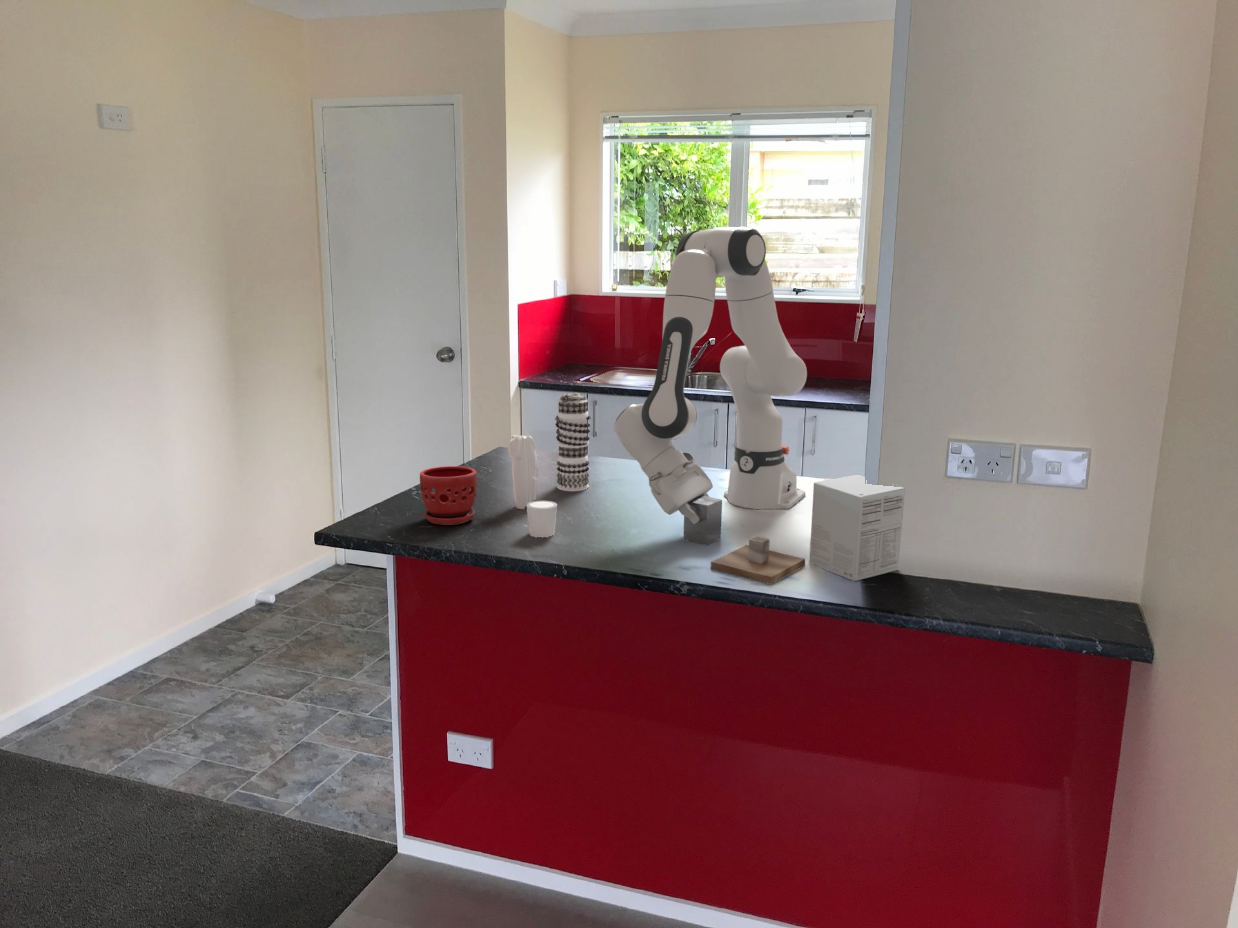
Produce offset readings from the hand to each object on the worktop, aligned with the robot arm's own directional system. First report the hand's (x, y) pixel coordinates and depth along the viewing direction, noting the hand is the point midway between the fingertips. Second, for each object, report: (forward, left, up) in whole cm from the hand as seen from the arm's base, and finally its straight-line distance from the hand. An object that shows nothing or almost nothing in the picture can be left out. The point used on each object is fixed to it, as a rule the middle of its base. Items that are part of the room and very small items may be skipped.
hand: (705, 517), depth 215 cm
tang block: (+8, +18, -5) cm, 21 cm away
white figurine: (+7, -49, -5) cm, 49 cm away
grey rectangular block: (0, -1, -5) cm, 5 cm away
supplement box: (-5, +33, -5) cm, 34 cm away
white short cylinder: (+20, -31, -5) cm, 37 cm away
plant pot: (+26, -55, -5) cm, 61 cm away
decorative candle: (-15, -52, -5) cm, 54 cm away
